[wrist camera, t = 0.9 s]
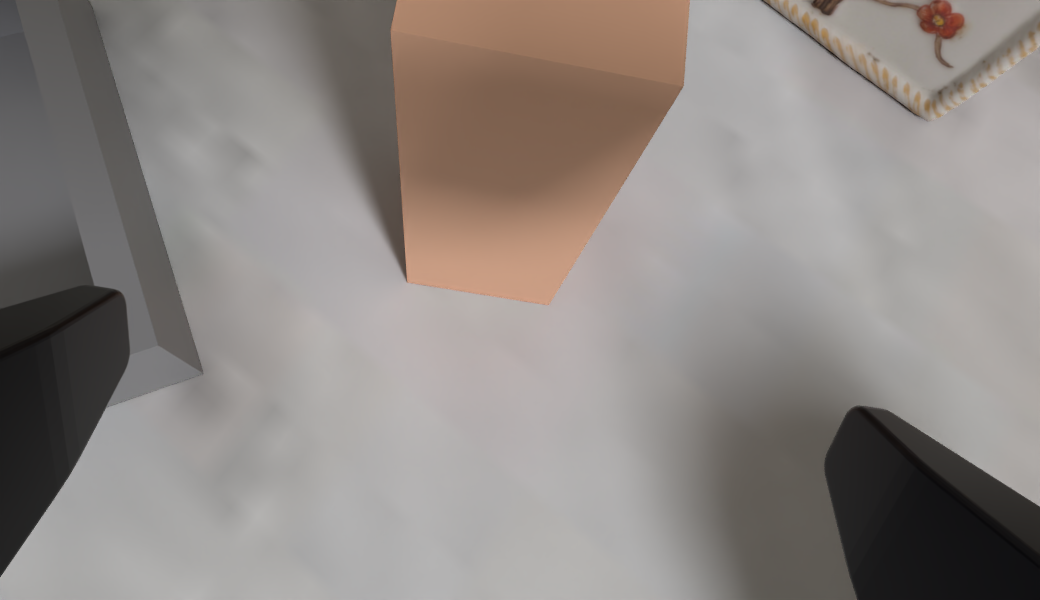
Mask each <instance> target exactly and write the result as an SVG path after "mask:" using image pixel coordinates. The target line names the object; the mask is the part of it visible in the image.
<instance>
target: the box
mask: <svg viewBox="0 0 1040 600" xmlns="http://www.w3.org/2000/svg"><path fill="white" fill-rule="evenodd" d="M80 285H93V286H100V287H106V288H112V289H117V290H119V291H120V292H121V293H122V294H123V295H124V297H125V300H126V305H127V316H128V328H129V340H130V358H129V362H128V365H127V368H126V370H125V372H124V374H123V376H122V378H121V380H120V382H119V384H118V386H117V388H116V390H115V391H114V393H113V395H112V397H111V399H110V401H109V403H108V405H107V407H109V406H112V405H115V404H118V403H120V402H123V401H126V400H129V399H132V398H135V397H138V396H141V395H144V394H146V393H149V392H152V391H155V390H158V389H161V388H164V387H167V386H170V385H173V384H175V383H178V382H181V381H184V380H187V379H190V378H193V377H196V376H199V375H201V374H203V370H202V367H201V364H200V360H199V357H198V354H197V351H196V347H195V344H194V341H193V337H192V334H191V331H190V328H189V324H188V321H187V318H186V314H185V311H184V308H183V305H182V301H181V298H180V295H179V291H178V288H177V285H176V281H175V278H174V275H173V272H172V268H171V265H170V262H169V258H168V255H167V252H166V249H165V245H164V242H163V239H162V235H161V232H160V229H159V226H158V222H157V219H156V216H155V212H154V209H153V206H152V203H151V199H150V196H149V193H148V189H147V186H146V183H145V180H144V176H143V173H142V170H141V166H140V163H139V160H138V156H137V153H136V150H135V147H134V143H133V140H132V137H131V133H130V130H129V127H128V124H127V120H126V117H125V114H124V110H123V107H122V104H121V101H120V97H119V94H118V91H117V87H116V84H115V81H114V78H113V74H112V71H111V68H110V64H109V61H108V58H107V54H106V51H105V48H104V45H103V41H102V38H101V35H100V31H99V28H98V25H97V22H96V18H95V15H94V12H93V8H92V6H91V5H90V3H89V2H88V0H0V309H1V308H5V307H8V306H11V305H15V304H18V303H22V302H25V301H29V300H32V299H35V298H39V297H42V296H46V295H49V294H53V293H56V292H59V291H63V290H66V289H70V288H73V287H77V286H80Z"/></svg>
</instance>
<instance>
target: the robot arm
mask: <svg viewBox="0 0 1040 600" xmlns="http://www.w3.org/2000/svg"><path fill="white" fill-rule="evenodd" d="M129 358H130V340H129V328H128V316H127V305H126V300H125V297H124V295H123V294H122V293H121V292H120V291H119V290H117V289H112V288H106V287H100V286H93V285H80V286H77V287H73V288H70V289H66V290H63V291H59V292H56V293H53V294H49V295H46V296H42V297H39V298H35V299H32V300H29V301H25V302H22V303H18V304H15V305H11V306H8V307H5V308H1V309H0V577H1V575H2V574H3V573H4V571H5V570H6V568H7V567H8V565H9V564H10V562H11V561H12V559H13V558H14V557H15V555H16V554H17V552H18V551H19V549H20V548H21V546H22V545H23V543H24V542H25V540H26V539H27V538H28V536H29V535H30V533H31V532H32V530H33V529H34V527H35V526H36V524H37V523H38V522H39V520H40V519H41V517H42V516H43V514H44V513H45V511H46V510H47V508H48V507H49V506H50V504H51V503H52V501H53V500H54V498H55V497H56V495H57V494H58V492H59V491H60V489H61V488H62V486H63V485H64V483H65V482H66V480H67V479H68V477H69V475H70V474H71V472H72V470H73V469H74V467H75V465H76V463H77V462H78V460H79V458H80V456H81V454H82V452H83V451H84V449H85V447H86V445H87V443H88V441H89V439H90V437H91V435H92V433H93V431H94V430H95V428H96V426H97V424H98V422H99V420H100V418H101V416H102V414H103V412H104V411H105V409H106V407H107V405H108V403H109V401H110V399H111V397H112V395H113V393H114V391H115V390H116V388H117V386H118V384H119V382H120V380H121V378H122V376H123V374H124V372H125V370H126V368H127V365H128V362H129ZM824 469H825V476H826V481H827V485H828V489H829V493H830V497H831V501H832V506H833V510H834V514H835V518H836V522H837V527H838V531H839V535H840V539H841V543H842V547H843V552H844V556H845V560H846V564H847V567H848V571H849V575H850V578H851V582H852V585H853V588H854V591H855V594H856V597H857V600H1040V506H1038V505H1036V504H1035V503H1033V502H1032V501H1030V500H1028V499H1027V498H1025V497H1024V496H1022V495H1021V494H1019V493H1017V492H1016V491H1014V490H1013V489H1011V488H1010V487H1008V486H1006V485H1005V484H1003V483H1002V482H1000V481H999V480H997V479H995V478H994V477H992V476H991V475H989V474H988V473H986V472H984V471H983V470H981V469H980V468H978V467H976V466H975V465H973V464H972V463H970V462H969V461H967V460H965V459H964V458H962V457H961V456H959V455H958V454H956V453H954V452H953V451H951V450H950V449H948V448H947V447H945V446H943V445H942V444H940V443H939V442H937V441H936V440H934V439H932V438H931V437H929V436H928V435H926V434H924V433H923V432H921V431H920V430H918V429H917V428H915V427H913V426H912V425H910V424H909V423H907V422H906V421H904V420H902V419H901V418H899V417H898V416H896V415H895V414H893V413H891V412H890V411H888V410H884V409H880V408H873V407H867V406H855V407H853V408H851V409H850V410H849V411H848V412H847V414H846V415H845V417H844V419H843V421H842V423H841V425H840V427H839V430H838V432H837V434H836V436H835V438H834V440H833V442H832V444H831V446H830V448H829V450H828V452H827V454H826V458H825V464H824Z"/></svg>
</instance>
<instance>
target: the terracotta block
mask: <svg viewBox="0 0 1040 600" xmlns="http://www.w3.org/2000/svg"><path fill="white" fill-rule="evenodd" d="M689 4H690V0H397V2H396V7H395V12H394V16H393V21H392V26H391V45H392V60H393V76H394V91H395V106H396V121H397V136H398V151H399V166H400V181H401V197H402V212H403V227H404V242H405V257H406V272H407V282H408V283H415V284H421V285H427V286H433V287H439V288H445V289H452V290H458V291H464V292H470V293H476V294H483V295H489V296H495V297H501V298H507V299H514V300H520V301H526V302H532V303H538V304H544V305H549V304H550V302H551V301H552V299H553V297H554V296H555V294H556V292H557V291H558V289H559V288H560V286H561V284H562V283H563V281H564V279H565V278H566V276H567V275H568V273H569V271H570V270H571V268H572V266H573V265H574V263H575V262H576V260H577V258H578V257H579V255H580V254H581V252H582V250H583V249H584V247H585V245H586V244H587V242H588V241H589V239H590V237H591V236H592V234H593V232H594V231H595V229H596V228H597V226H598V224H599V223H600V221H601V219H602V218H603V216H604V215H605V213H606V211H607V210H608V208H609V206H610V205H611V203H612V202H613V200H614V198H615V197H616V195H617V193H618V192H619V190H620V189H621V187H622V185H623V184H624V182H625V180H626V179H627V177H628V176H629V174H630V172H631V171H632V169H633V168H634V166H635V164H636V163H637V161H638V159H639V158H640V156H641V155H642V153H643V151H644V150H645V148H646V146H647V145H648V143H649V142H650V140H651V138H652V137H653V135H654V133H655V132H656V130H657V129H658V127H659V125H660V124H661V122H662V120H663V119H664V117H665V116H666V114H667V112H668V111H669V109H670V107H671V106H672V104H673V103H674V101H675V99H676V98H677V96H678V95H679V93H680V91H681V90H682V88H683V86H684V73H685V59H686V46H687V32H688V18H689Z"/></svg>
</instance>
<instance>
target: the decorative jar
mask: <svg viewBox="0 0 1040 600" xmlns="http://www.w3.org/2000/svg"><path fill="white" fill-rule="evenodd" d="M764 1H765V2H766V3H768V4H769V5H770V6H772V7H773V8H774V9H776V10H777V11H778V12H780V13H781V14H782V15H783V16H785V17H786V18H787V19H789V20H790V21H791V22H793V23H794V24H796V25H797V26H798V27H800V28H801V29H802V30H804V31H805V32H806V33H807V34H809V35H810V36H812V37H813V38H814V39H816V40H817V41H818V42H819V43H820V44H822V45H823V46H824V47H825V48H827V49H828V50H829V51H831V52H832V53H834V54H835V55H836V56H837V57H838V58H839V59H841V60H842V61H843V62H845V63H846V64H847V65H849V66H850V67H851V68H853V69H854V70H856V71H857V72H859V73H860V74H862V75H863V76H864V77H865V78H867V79H868V80H870V81H871V82H873V83H874V84H875V85H877V86H878V87H879V88H881V89H882V90H883V91H885V92H886V93H888V94H889V95H890V96H892V97H893V98H895V99H896V100H897V101H899V102H900V103H902V104H903V105H904V106H906V107H907V108H908V109H909V110H910V111H912V112H913V113H914V114H916V115H918V116H920V117H921V118H923V119H924V120H926V121H932V120H935V119H937V118H939V117H941V116H943V115H944V114H946V113H947V112H949V111H950V110H952V109H954V108H956V107H957V106H959V105H960V104H961V103H963V102H964V101H966V100H967V99H969V98H970V97H971V96H973V95H974V94H975V93H977V92H978V91H979V90H980V89H982V88H984V87H985V86H987V85H988V84H989V83H991V82H992V81H994V80H995V79H996V78H998V77H999V76H1000V75H1001V74H1003V73H1004V72H1006V71H1007V70H1008V69H1010V68H1011V67H1013V66H1014V65H1015V64H1016V63H1017V62H1019V61H1021V60H1022V59H1024V58H1025V57H1026V56H1028V55H1029V54H1030V53H1032V52H1033V51H1035V50H1036V49H1037V48H1038V47H1040V0H764Z"/></svg>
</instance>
